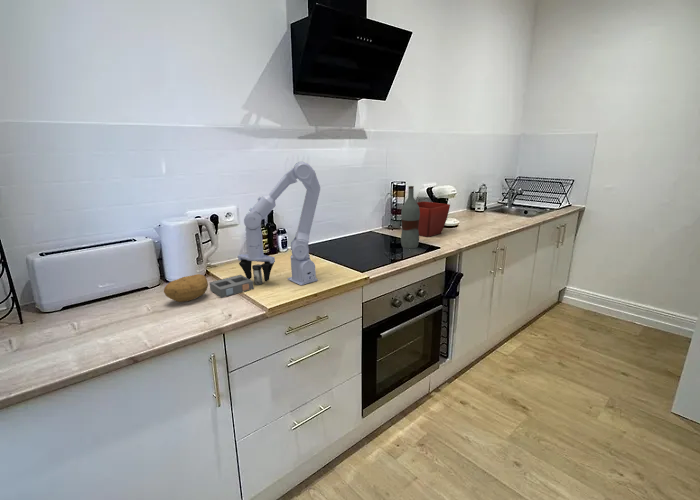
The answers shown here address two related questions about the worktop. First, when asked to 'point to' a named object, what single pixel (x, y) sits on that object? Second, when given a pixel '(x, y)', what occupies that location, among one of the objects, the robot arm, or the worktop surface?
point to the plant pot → (432, 218)
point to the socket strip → (231, 285)
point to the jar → (257, 274)
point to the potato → (186, 288)
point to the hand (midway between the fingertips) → (258, 279)
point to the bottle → (410, 221)
